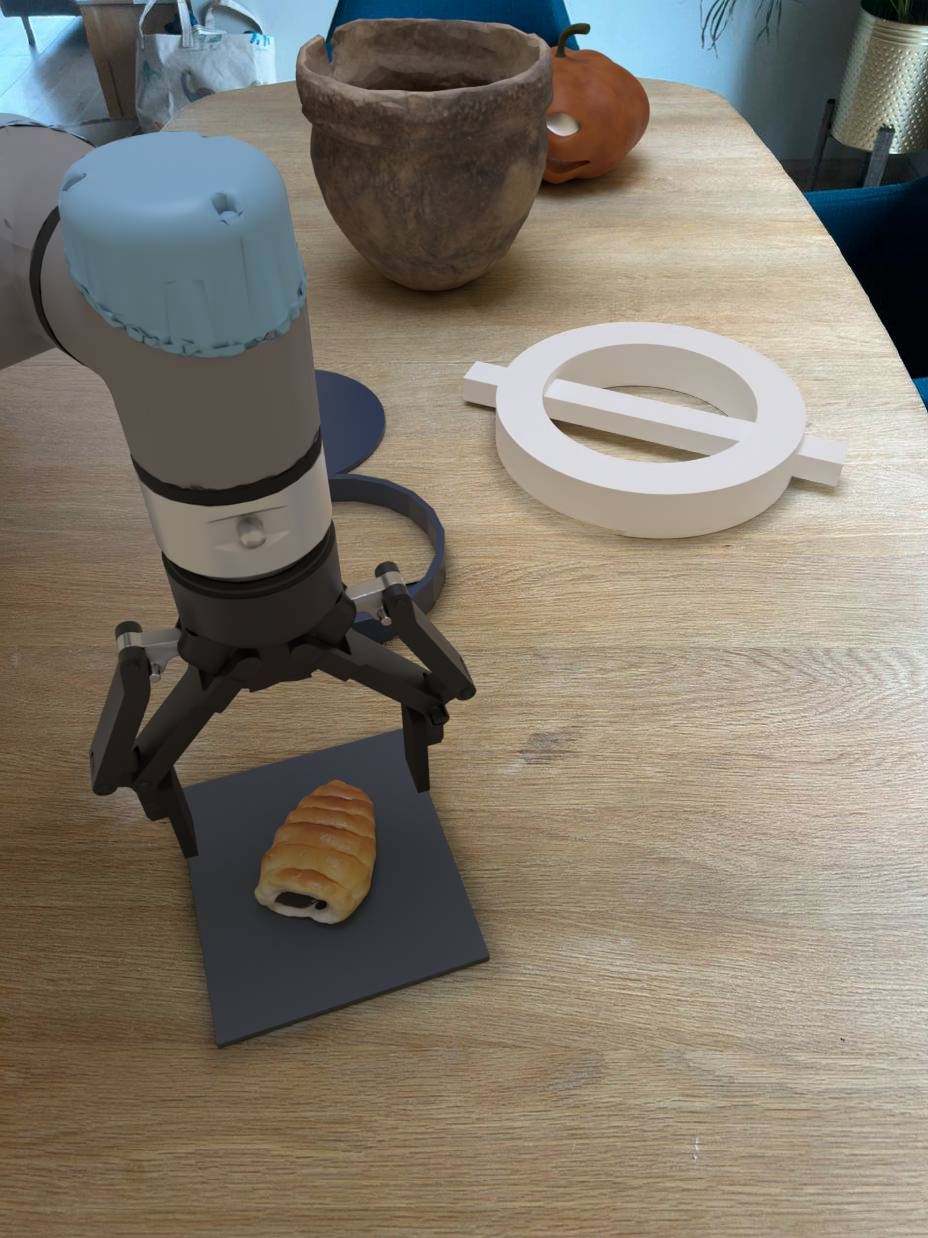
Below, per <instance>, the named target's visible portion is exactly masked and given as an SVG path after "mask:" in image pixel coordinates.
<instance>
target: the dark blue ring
mask: <svg viewBox="0 0 928 1238" xmlns="http://www.w3.org/2000/svg"><path fill="white" fill-rule="evenodd" d="M327 477H328V484H329V491H330V498H331V503H341V502H342V503H343V502H344V503H346V502H347V503H348V502H350V503H352V502H356V503H357V502H358V503H361V504H362V503H363V504H366V505H367V504H368V505H371V506H373V505H374V506H378V507H383V508H386V509H388V510H391V511H393V512H395V513H398V514H400V515H402V516H404V517H406V518H408V519H409V520H411V521H412V522H413V523H414V524H415V525H416V526H417V527H419V529H421V530H422V531H423V532H424V533H425V534H426V535H427V536H428V538H429V540H430V542H431V545H432V547H433V549H434V551H435V555H434V557H433V558H432V560H431V563H430V564H429V567H428V569H427V571H426V573H425V575H424V576H423V577H422V578H421V579H420V580H415V581H411V582H408V583H405V585H406V587H407V590H408V592H409V594H410V597H411V599H412V600H413V602H414V603H415V604H416V605H417V606H418V607H419V608H420V610H421V611H422V612H423V613H424V614H425V615H426V616H427V614H428V612H429V611H430V610H431V609H432V608H433V607H434V605H435V603H436V602H437V600H438V599H439V597H440V596H441V595H440V594H441V592H442V591H443V587H444V584H445V581H446V575H447V574H446V563H447V562H446V554H447V553H446V532H445V528H444V527H443V525H442V523H441V520H440V518H439V517H438V515H437V512H436V510H435V509H434V508H433V507H432V506H431V505H430V504H429V503H428V502H426V501H425V500H424V499H423V498H422V497H421V496H420V495H419V494H417V493H416V492H415V491H414V490H411V489H409V488H407V487H405V486H402V485H400V484H398V483H396V482H394V481H391V480H389V479H386V478H381V477H376V476H370V475H365V474H359V473H345V474H327ZM351 628H352V629H353V630H355V631H356V632H358V633H360V634H362V635H364V636H366V637H367V638H369V639H371V640H373V641H375V642H377V643H379V644H380V645H382V644H383V643H386V642H388V641H390V640H393V639H394V638H396V637H398V636H397V634H396V632H395V631H394V629H393V626H392V623H391V624H390V625H388V626H383V625H382V624H381V622H380V621H378V620H375V619H373V617H372V616H371V615H370V614H369V613H366V612H359V613H357V615H356V619H355V621H354V623H353V624H352V626H351Z"/></svg>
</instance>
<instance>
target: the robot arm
mask: <svg viewBox="0 0 928 1238" xmlns="http://www.w3.org/2000/svg"><path fill="white" fill-rule="evenodd" d="M295 234H296V233H295V229H294V224H293V218H292V212H291V208H290V201H289V195H288V191H287V187H286V183H285V179H284V178H283V176H282V174H281V173H280V170H279V169H278V168H277V166H276V165H275V163H274V162H273V161H272V160H271V158H269V156H268V155H267V154H265V153H264V152H263V151H261V150H260V149H259V148H258V147H256V146H253V145H252V144H251V143H248V142H247V141H246V142H245V141H243V140H241V139H238V138H236V137H233V136H229V135H215V136H205V135H203V134H201V133H200V132H198V131H195V130H168V131H156V132H147V133H142V134H137V135H134V136H133V135H132V136H128V137H124V138H121V139H117V140H113V141H111V142H109V143H108V142H107V143H106V144H104V145H101V146H97V145H95V143H93V142H91V141H90V140H88V139H87V138H85V136H82V135H79V134H77V133H76V132H74V131H68V130H64V129H63V128H62V127H60V126H57V125H56V124H45V123H43V122H41V121H38V120H36V119H33V118H30V117H29V116H25V115H22V114H21V115H20V114H16V113H11V112H0V371H2V370H5V369H7V368H9V367H12V366H14V365H17V364H19V363H22V362H24V361H27V360H29V359H31V358H33V357H37V356H38V355H41V354H43V353H45V352H49V351H51V350H53V349H56V348H57V349H58V350H60V351H61V352H63V353H64V354H66V355H67V356H68V357H70V358H71V359H73V360H74V361H76V362H77V363H79V364H80V365H81V366H84V367H86V368H87V369H89V370H91V371H92V372H93V373H94V374H96V375H98V377H100V378H101V379H102V380H103V382H104V383H105V385H106V387H107V389H108V391H109V392H110V395H111V397H112V400H113V403H114V406H115V410H116V412H117V413H116V414H117V416H118V418H119V423H120V425H121V429H122V432H123V434H124V437H125V441H126V444H127V447H128V450H129V456H130V459H131V462H132V465H133V468H134V471H135V473H136V474H135V475H136V478H137V482H138V485H139V488H140V492H141V495H142V498H143V501H144V504H145V508H146V511H147V515H148V518H149V521H150V524H151V527H152V531H153V535H154V537H155V541H156V544H157V546H158V547H159V549H160V551H161V552H160V553H161V560H162V564H163V567H164V570H165V574H166V577H167V580H168V583H169V587H170V590H171V594H172V597H173V600H174V603H175V607H176V610H177V614H178V618H177V620H176V623H175V625H174V627H170V628H162V629H156V630H149V631H143V628H142V625H141V624H140V623H139V622H137V621H135V620H125V621H122V622H120V623H118V624H117V625H116V627H115V628H114V636H115V645H116V652H117V660H118V662H117V665H116V667H115V671H114V674H113V677H112V680H111V683H110V685H109V689H108V691H107V695H106V699H105V701H104V704H103V708H102V709H101V710H102V711H101V713H100V717H99V720H98V723H97V726H96V730H95V732H94V735H93V738H92V742H91V745H90V747H89V751H88V757H89V768H90V770H89V771H90V779H91V781H90V782H91V789H92V790H91V791H92V793H93V794H94V795H96V796H99V797H107V796H111V795H113V794H114V793H116V791H117V790H118V789H119V788H129V789H130V790H131V789H132V791H133V792H134V793H136V795H137V798H138V800H139V802H140V806H141V807H142V810H143V812H144V814H145V817H146V818H147V819H148V820H149V821H151V822H157V821H160V820H164V819H167V818H168V820H169V822H170V825H171V826H172V829H173V832H174V834H175V837H176V840H177V842H178V845H179V847H180V850H181V852H182V854H183V857H184V859H185V860H188V858H191V857H194V856H198V855H199V854H198V848H197V842H196V836H195V830H194V824H193V818H192V815H191V812H190V809H189V806H188V804H187V801H186V798H185V795H184V793H183V790H182V788H183V787H182V784H181V782H180V779H179V776H178V774H177V771H176V768H175V764H176V763H177V762H178V761H179V759H180V758H181V757H182V755H183V754H184V753H185V751H186V750H187V749H188V748H189V747H190V745H192V742H193V741H194V740H195V739H196V737H197V736H198V735H199V734H200V733H201V731H202V730H203V728H205V726H206V725H207V723H208V722H209V721H210V720H211V718H212V717H213V716H214V715H215V714H216V713H217V714H222V713H224V712H225V710H226V709H227V708H228V707H229V705H231V704H232V702H233V701H234V700H235V698H236V697H237V695H238V694H239V693H240V692H241V690H242V689H244V690H249V693H250V694H251V693H255V692H258V691H263V690H266V689H268V688H271V687H274V686H275V685H277V684H281V683H289V682H291V683H292V682H299V681H303V680H307V679H311V678H312V677H313V675H312V673H315V672H317V671H320V672H322V673H325V674H327V675H329V676H331V677H333V678H335V679H337V680H340V681H342V682H344V683H345V682H347V681H349V680H352V681H354V682H357V683H359V684H360V685H362V686H365V687H366V688H369V689H371V690H372V691H374V692H377V693H379V694H380V695H383V696H385V697H387V698H389V699H391V700H393V701H395V702H397V703H399V704H400V710H401V724H402V728H403V737H404V749H405V759H406V762H407V764H408V767H409V770H410V773H411V776H412V778H413V781H414V784H415V787H416V789H417V792H418V793H422V792H425V791H429V792H430V790H431V782H430V780H431V779H430V766H429V765H430V762H429V761H430V760H429V747H430V746H434V745H438V744H441V743H442V742H443V740H444V737H445V728H444V727H445V726H444V725H446V724H447V723H448V722H449V721H450V718H451V716H450V713H449V710H448V708H447V704H449V703H450V702H451V701H453V700H455V699H456V700H458V701H460V702H465V701H468V700H471V699H472V698H474V697H475V696H476V695H477V691H478V690H477V688H476V685H475V684H474V681H473V678H472V676H471V673H470V671H469V669H468V667H467V665H466V663H465V660H464V658H463V656H462V655H461V654H460V653H459V651H458V650H457V649H456V648H455V647H454V646H453V645H452V643H451V642H450V641H449V640H448V639H447V638H446V637H445V635H444V634H443V633H442V632H441V631H440V629H438V628H437V626H436V625H435V624H434V623H433V622H432V621H431V620H430V619H429V617H428V616H427V614H426V615H425V614H424V613H423V612H422V611H421V610H420V608H419V607H418V606H417V605H416V604H415V603H414V602H413V600H412V599H411V597H410V594H409V592H408V590H407V587H406V585H405V584H406V582H405V580H404V577H403V576H402V573H401V571H400V569H399V566H398V564H397V563H396V562H395V561H392V560H391V561H390V560H387V561H383V562H381V563H379V564H378V565H377V566H376V567H375V569H374V577H375V578H371V579H369V580H365V581H363V582H359V583H356V584H352V585H350V586H348V585H346V583H344V582H343V578H342V572H341V563H340V557H339V556H340V555H339V548H338V541H337V540H338V539H337V534H336V533H337V532H336V527H335V522H334V520H333V517H332V516H333V505H332V502H331V498H330V491H329V484H328V477H327V470H326V463H325V456H324V449H323V442H322V436H321V428H320V424H321V422H320V413H319V404H318V396H317V387H316V378H315V369H316V368H315V362H314V352H313V344H312V343H313V342H312V335H311V326H310V317H309V309H308V299H307V290H308V278H307V277H308V275H307V270H306V269H305V263H304V258H303V257H304V256H303V254H300V253H299V244H298V242H297V241H296V235H295ZM359 612H366V613H369V614H370V615H371V616H372V617H373V619H375V620H378V621H380V622H381V624H382V625H383V626H388V625H390V624H391V623H392V626H393V629H394V631H395V632H396V634H397V636H396V637H398V639H399V640H400V641H401V642H402V643H403V644H404V645H405V646H406V647H407V649H409V650H410V651H411V652H412V654H413V655H414V656H415V657H416V658H417V659H418V660H419V661H420V662H421V663H422V664H423V665H424V666H422V665H419V664H418V663H416V662H414V661H412V660H410V659H408V658H407V657H404V656H402V655H401V654H399V653H397V652H395V651H394V650H392V649H390V648H388V647H386V646H385V645H382V644H379V643H377V642H375V641H373V640H371V639H369V638H367V637H366V636H364V635H362V634H360V633H358V632H356V631H355V630H353V629H352V628H351V626H352V624H353V623H354V621H355V619H356V615H357V613H359ZM175 657H176V658H177V657H180V658H181V659H182V660H183V661H184V662H185V663H187V664H188V665H187V669H186V671H185V672H184V674H183V675H182V676H181V678H180V679H179V680H178V682H177V683H176V684H175V686H174V687H173V689H172V690H170V693H169V694H168V695H167V696H166V698H165V699H164V701H162V703H161V705H160V706H159V707H158V709H156V711H155V712H154V713H153V715H152V717H150V719H149V720H148V721H147V723H146V724H145V726H144V727H143V729H141V731H140V732H139V730H140V727H141V724H142V721H143V719H144V716H145V713H146V711H147V708H148V705H149V702H150V699H151V692H152V690H151V689H152V686H151V683H153V684H154V683H158V682H159V681H161V679H162V675H161V674H163V673H164V672H165V670H166V668H167V664H168V662H169V661H170V660H172V659H174V658H175Z"/></svg>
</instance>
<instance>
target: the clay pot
mask: <svg viewBox="0 0 928 1238" xmlns="http://www.w3.org/2000/svg"><path fill="white" fill-rule="evenodd" d="M329 44H330V45H331V47H332V51H331V54H330V55H331V62H330V60H329V57H328V56H329V54H328V50H327V43H326V39H325V36H322V35H321V34H319V33H318V34H317V35H315V36H313V37H311V38H310V39H309V40H307V42H305V43H304V44H303V45H301V47H300V48H299V50H298V53H297V57H296V63H295V85H296V90H297V94H298V97H299V101H300V104H301V114H302V115H303V116H304V118H305V119H306V120H307V121H308V122H309V123H310V124H311V132H310V140H309V141H310V142H309V144H310V145H309V155H310V160H311V163H312V164H311V165H312V169H313V172H314V177H315V180H316V182H317V186H318V187H319V190H320V194H321V195H322V198H323V201H324V204H325V207H326V209H327V210H328V212H329V214H330V215H331V217H332V219H333V221H334V222H335V224H336V225H337V226H338V228H339V230H340V231H341V232H342V234H343V236H345V237H346V239H347V240H348V242H349V243H350V244H351V245H352V247H353V248H354V249H355V250H356V252H357V253H359V254H360V256H361V257H362V258H363V259H364V260H365V261H366V262H367V263H368V264H369V265H370V266H371V267H372V268H373V269H374V270H375V271H377V272H378V273H379V274H380V275H381V276H383V277H385V278H386V279H388V280H390V281H392V282H395V283H396V284H398V285H401V286H403V287H405V288H408V289H410V290H414V291H421V292H422V291H423V292H437V291H438V292H439V291H447V290H451V289H457V288H460V287H462V286H464V285H466V284H468V283H470V282H472V281H474V280H477V279H479V278H480V277H482V276H483V275H484V274H486V273H487V272H489V271H490V270H491V269H492V268H494V266H496V265H497V264H498V263H499V262H500V261H502V259H503V258H504V257H505V256H506V254H507V253H508V252H509V250H510V249H511V247H512V245H513V243H514V242H515V240H516V238H517V236H518V234H519V233H520V231H521V229H522V227H523V226H524V224H525V222H526V221H527V218H528V217H529V215H530V212H531V210H532V208H533V205H534V203H535V200H536V197H537V195H538V193H539V189H540V187H541V184H542V180H543V179H542V176H543V173H544V170H545V168H546V159H547V155H548V129H547V123H546V117H545V116H546V111H547V110H548V108H549V107H550V105H551V104H552V102H553V94H554V92H553V83H552V81H553V74H554V72H553V63H552V56H551V50H550V48H551V47H550V46H549V44H548V43H547V42H546V41H545V39H543V38H542V37H540V36H539V35H538V34H536V33H535V32H532V33H526V32H524V31H522V30H520V29H518V28H517V27H514V26H512V25H510V24H508V23H507V24H506V23H500V22H483V21H475V20H465V19H437V18H415V17H406V18H405V17H404V18H395V17H385V18H357V19H355V20H352V21H349V22H346V23H344V24H341V25H339V26H336V27H335V29H334V31H333V34H332V36H331V38H330V42H329Z"/></svg>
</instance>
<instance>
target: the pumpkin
mask: <svg viewBox="0 0 928 1238" xmlns="http://www.w3.org/2000/svg"><path fill="white" fill-rule="evenodd" d="M590 33H591V24H590V23H586V22H577V23H573V24H570V25H568V26H567V27H565V28H564V29H563V31H561V33H560V35H559V37H558V40H557V45H556V46H552V47H550V50H551V56H552V63H553V72H554V74H553V81H552V83H553V92H554V94H553V102H552V104H551V105H550V107H549V108H548V110H547V111H546V116H545V117H546V123H547V129H548V155H547V159H546V168H545V170H544V173H543V176H542V180H543V181H545V182H548V183H550V184H554V185H559V184H562V183H565V182H568V181H570V180H572V179H580V180H588V179H594V178H598V177H600V176H603V175H605V174H607V173H608V172H610V171H612V170H614V169H615V168H616V167H617V166H618V165H619V164H620V163H621V162H622V161H623V160H624V159H625V158H626V156H627V155H628V153H629V152H631V151H632V150H633V149H634V148H635V147H636V146H637V144H638V143H639V142H640V141H641V139H642V138H643V136H644V134H645V133H646V130H647V128H648V125H649V123H650V118H651V117H650V116H651V108H650V101H649V97H648V94H647V92H646V90H645V87H643V85H642V84H641V82H640V81H639V80H638V78H637V77H636V76H635V75H633V73H632V72H630V71H629V70H627V68H626V67H623V65H621V64H618V63H616V62H615V61H614V60H612V59H611V57H609V56H607V55H606V54H604V53H602V52H600V51H597V50H594V49H589V48H588V49H587V48H586V49H585V48H584V49H577V50H573V49H571V48H568V47H566V44H567V42H568V39H569V38H571V36H575V35H581V36H582V35H583V36H587V35H588V34H590Z"/></svg>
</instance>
